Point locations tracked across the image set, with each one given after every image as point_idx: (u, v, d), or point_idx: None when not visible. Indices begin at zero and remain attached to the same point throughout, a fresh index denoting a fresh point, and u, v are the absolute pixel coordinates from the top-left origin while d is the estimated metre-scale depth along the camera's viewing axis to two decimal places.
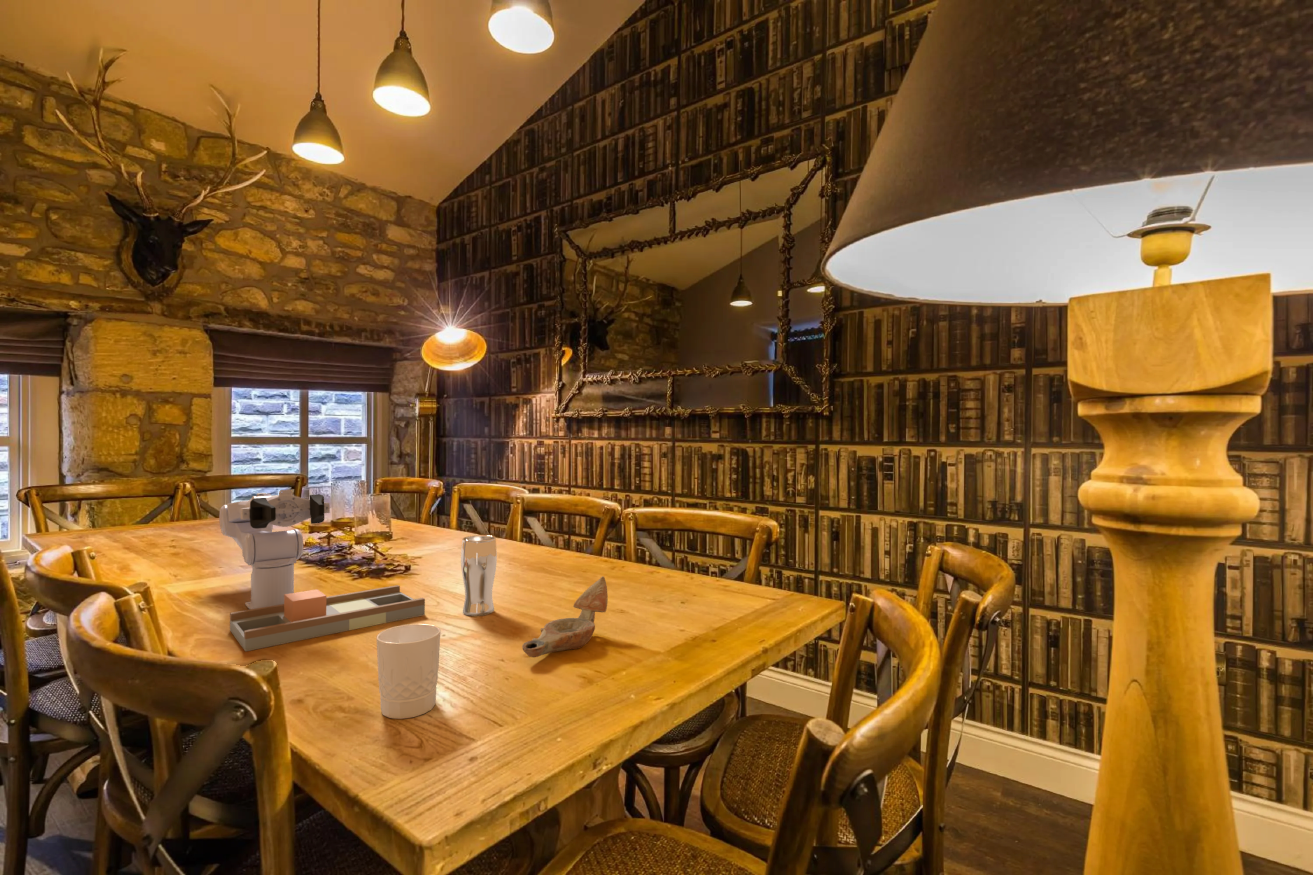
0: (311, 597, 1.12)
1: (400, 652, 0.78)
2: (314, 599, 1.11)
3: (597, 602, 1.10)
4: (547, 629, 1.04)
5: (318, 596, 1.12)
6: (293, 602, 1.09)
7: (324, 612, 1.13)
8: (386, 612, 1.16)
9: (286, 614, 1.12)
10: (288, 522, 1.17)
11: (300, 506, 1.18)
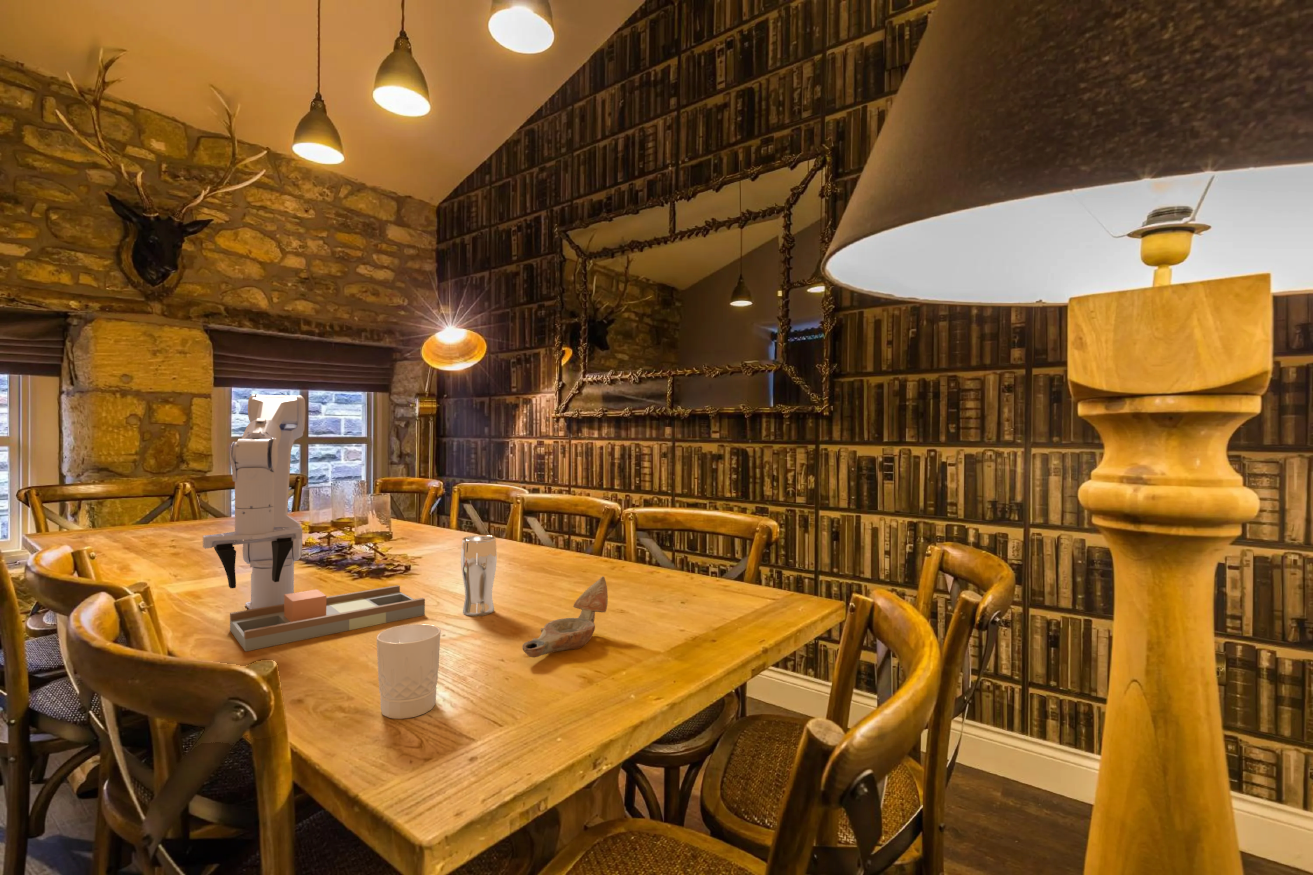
0: (311, 597, 1.12)
1: (400, 652, 0.78)
2: (314, 599, 1.11)
3: (597, 602, 1.10)
4: (547, 629, 1.04)
5: (318, 596, 1.12)
6: (293, 602, 1.09)
7: (324, 612, 1.13)
8: (386, 612, 1.16)
9: (286, 614, 1.12)
10: None
11: (270, 537, 1.09)
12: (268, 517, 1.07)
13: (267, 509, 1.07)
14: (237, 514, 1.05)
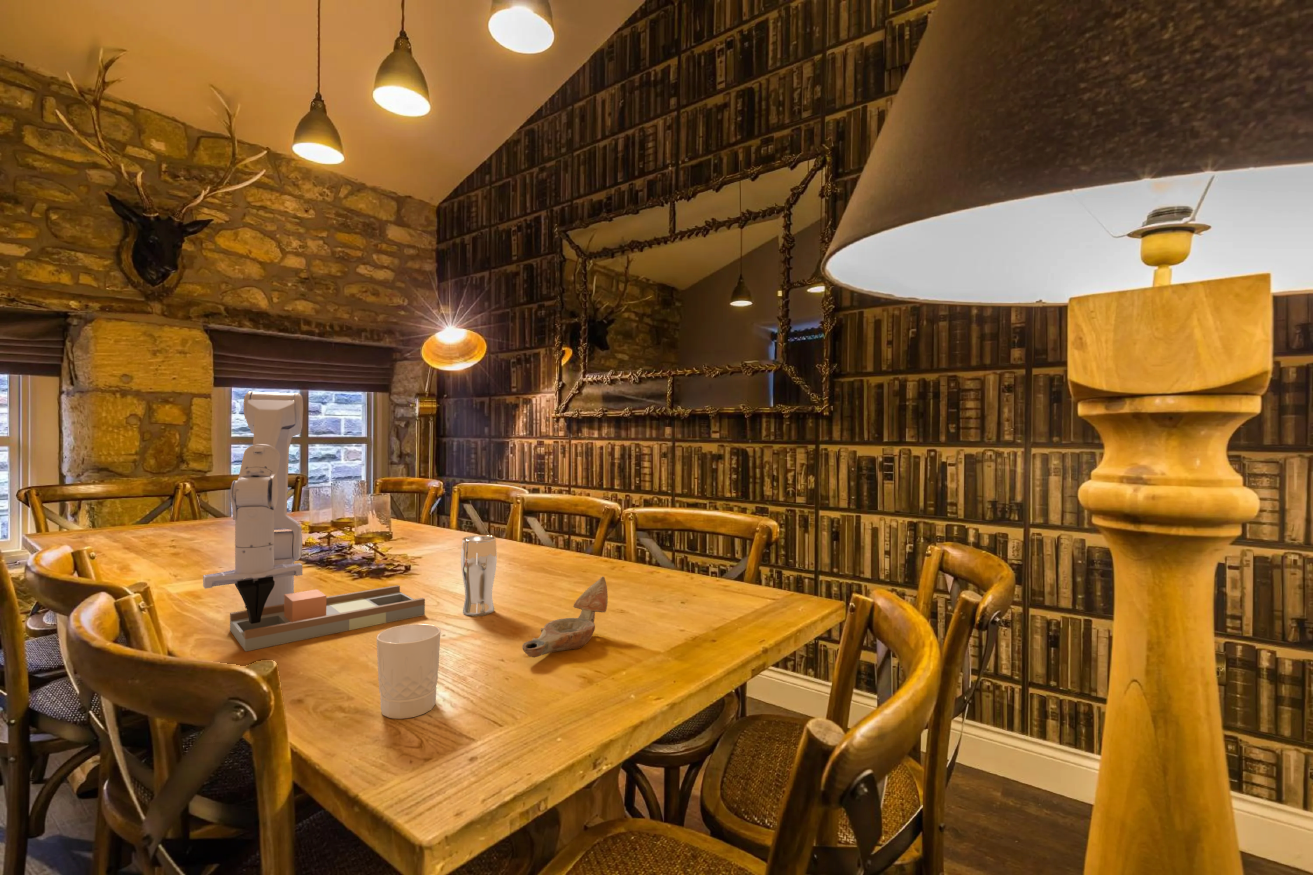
0: (311, 597, 1.12)
1: (400, 652, 0.78)
2: (314, 599, 1.11)
3: (597, 602, 1.10)
4: (547, 629, 1.04)
5: (318, 596, 1.12)
6: (293, 602, 1.09)
7: (324, 612, 1.13)
8: (386, 612, 1.16)
9: (286, 614, 1.12)
10: None
11: (270, 575, 1.09)
12: (268, 555, 1.07)
13: (267, 547, 1.07)
14: (237, 553, 1.05)
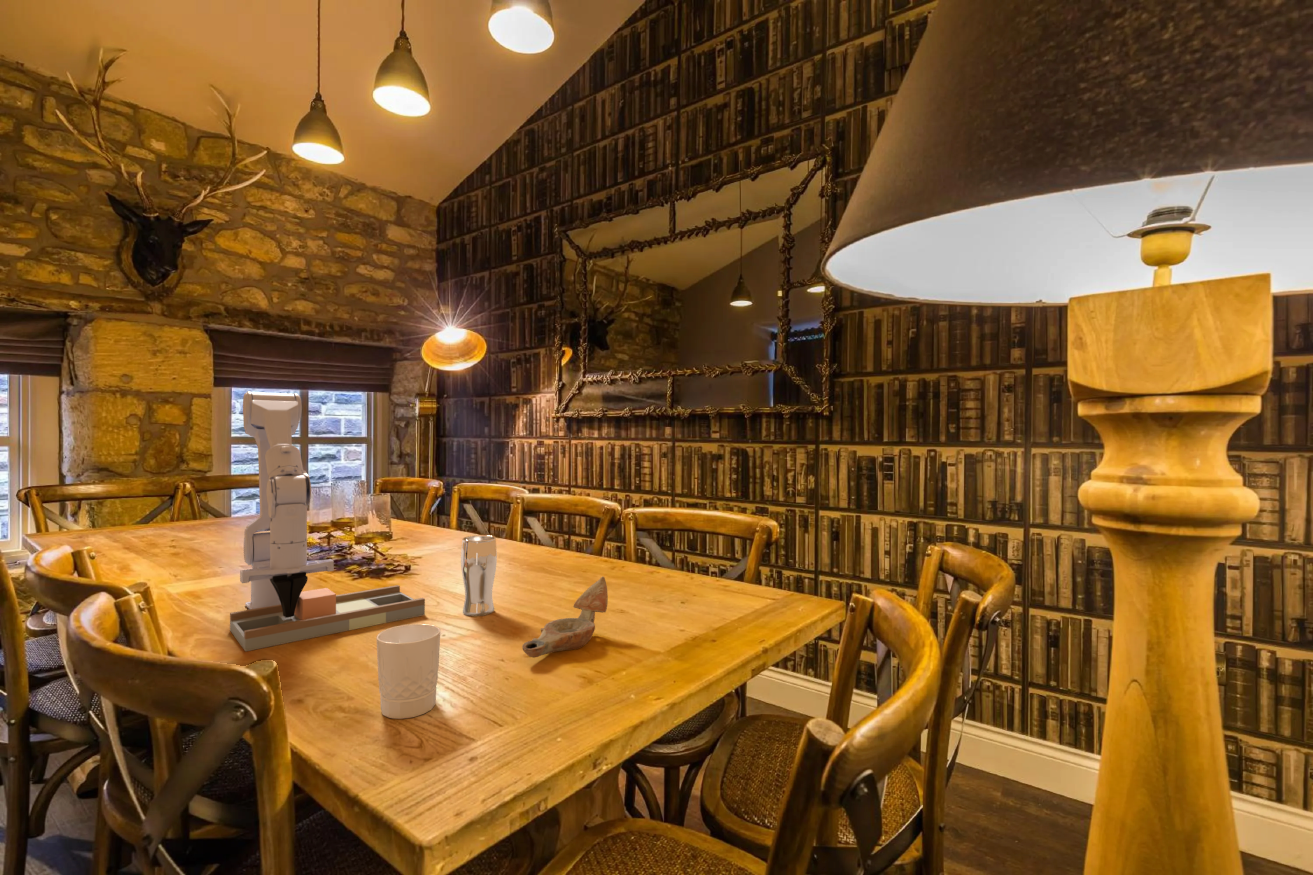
0: (321, 595, 1.13)
1: (400, 652, 0.78)
2: (324, 598, 1.12)
3: (597, 602, 1.10)
4: (547, 629, 1.04)
5: (328, 594, 1.13)
6: (303, 600, 1.10)
7: (334, 610, 1.14)
8: (386, 612, 1.16)
9: (296, 612, 1.13)
10: None
11: (303, 570, 1.12)
12: (302, 551, 1.11)
13: (301, 544, 1.10)
14: (273, 549, 1.09)
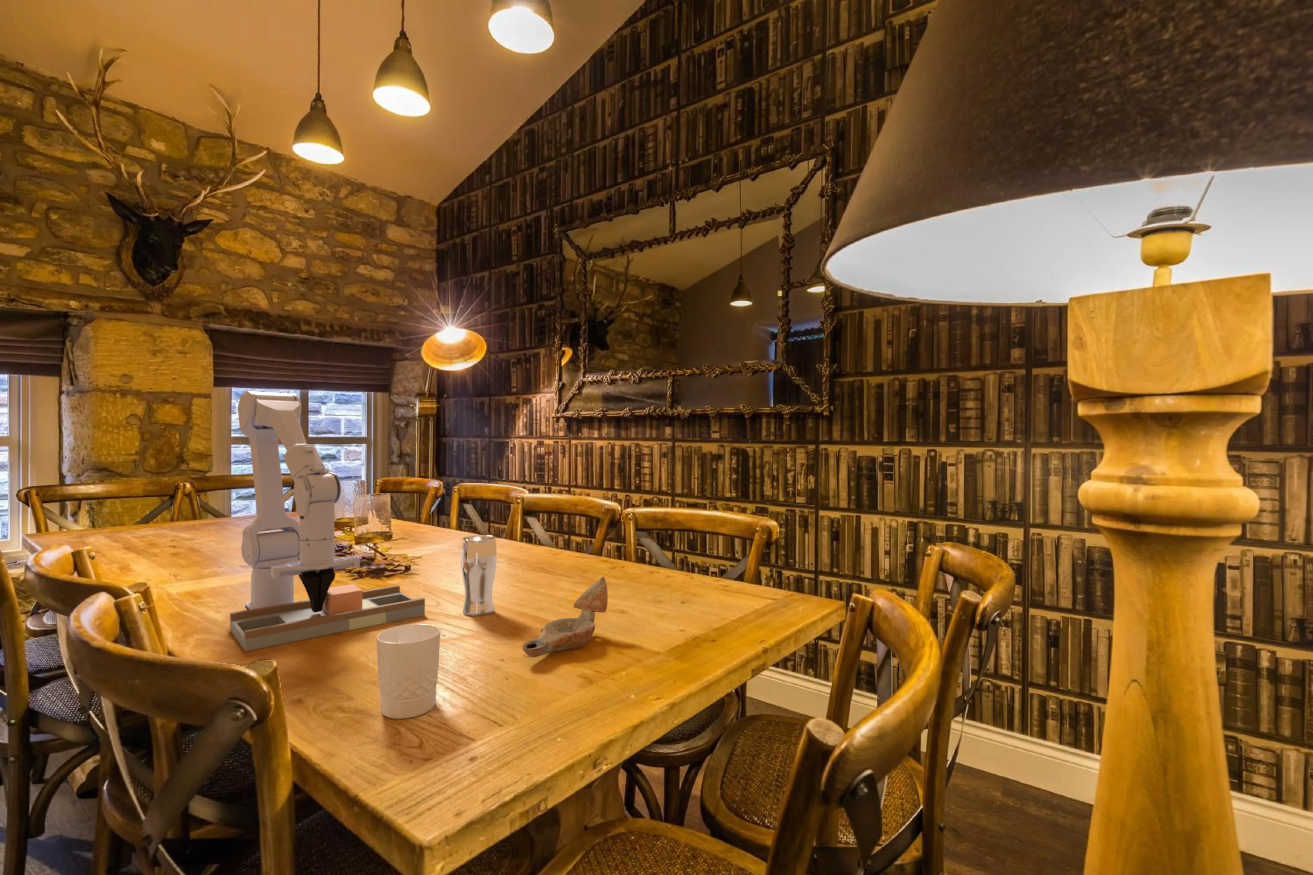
0: (348, 591, 1.16)
1: (400, 652, 0.78)
2: (351, 593, 1.15)
3: (597, 602, 1.10)
4: (547, 629, 1.04)
5: (354, 590, 1.16)
6: (331, 596, 1.13)
7: (360, 606, 1.17)
8: (386, 612, 1.16)
9: (324, 608, 1.16)
10: None
11: (331, 566, 1.15)
12: (330, 548, 1.14)
13: (329, 541, 1.14)
14: (302, 546, 1.12)
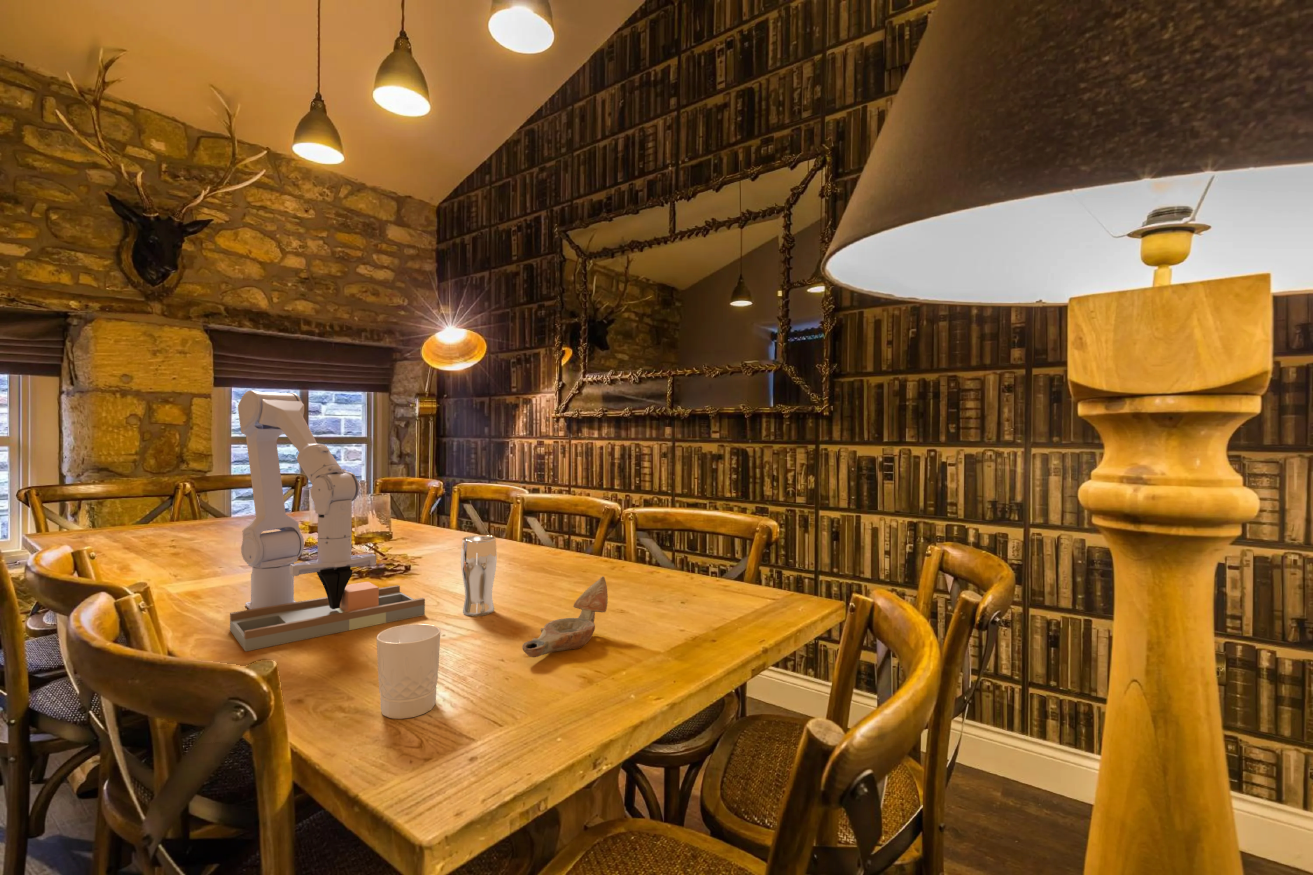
0: (365, 588, 1.18)
1: (400, 652, 0.78)
2: (367, 590, 1.18)
3: (597, 602, 1.10)
4: (547, 629, 1.04)
5: (371, 588, 1.19)
6: (349, 593, 1.15)
7: (376, 603, 1.19)
8: (386, 612, 1.16)
9: (341, 605, 1.18)
10: None
11: (348, 564, 1.18)
12: (348, 546, 1.16)
13: (347, 539, 1.16)
14: (320, 544, 1.14)
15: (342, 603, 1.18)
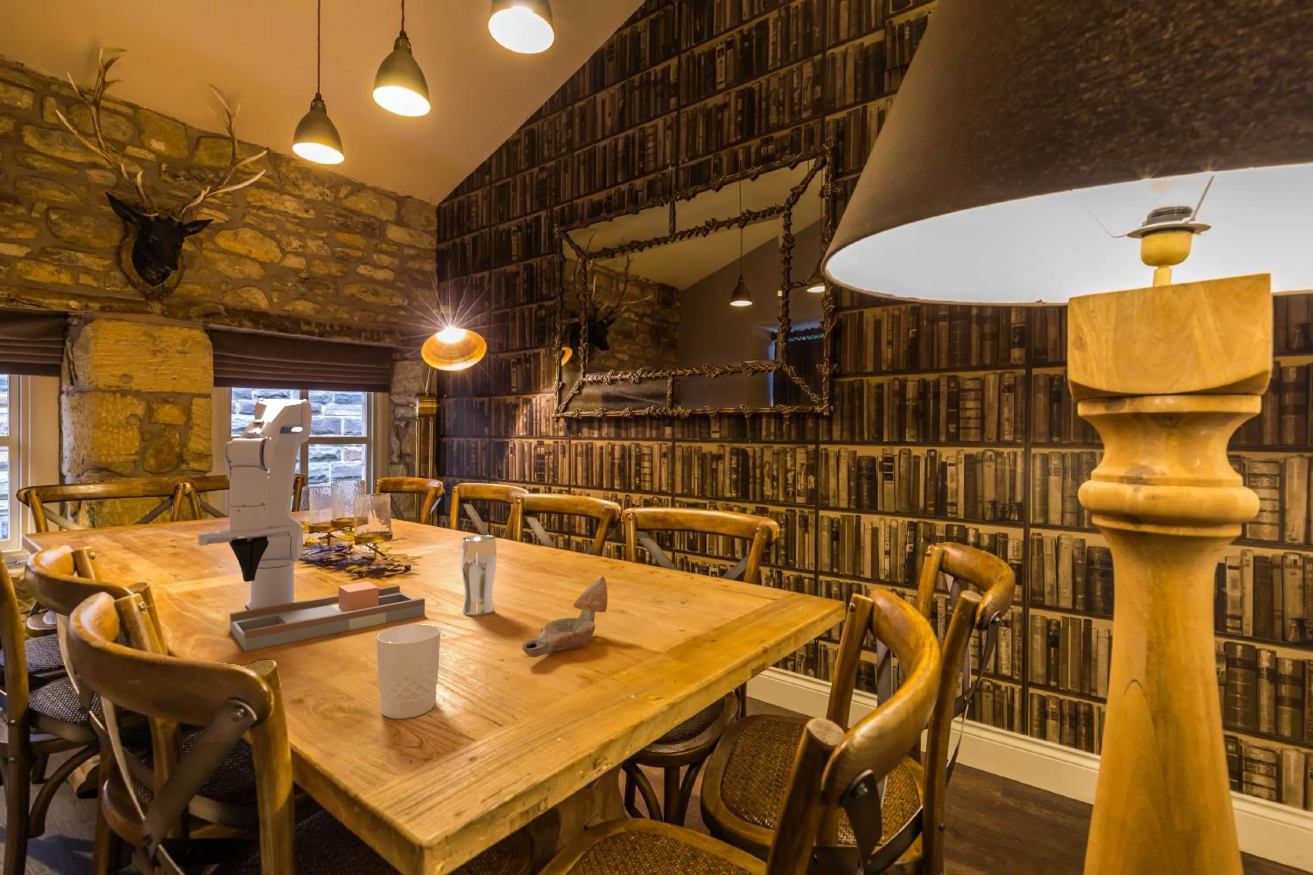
0: (365, 588, 1.18)
1: (400, 652, 0.78)
2: (367, 590, 1.18)
3: (597, 602, 1.10)
4: (547, 629, 1.04)
5: (371, 588, 1.19)
6: (349, 593, 1.15)
7: (376, 603, 1.19)
8: (386, 612, 1.16)
9: (341, 605, 1.18)
10: None
11: (264, 534, 1.11)
12: (262, 514, 1.09)
13: (261, 507, 1.09)
14: (232, 512, 1.07)
15: (342, 603, 1.18)
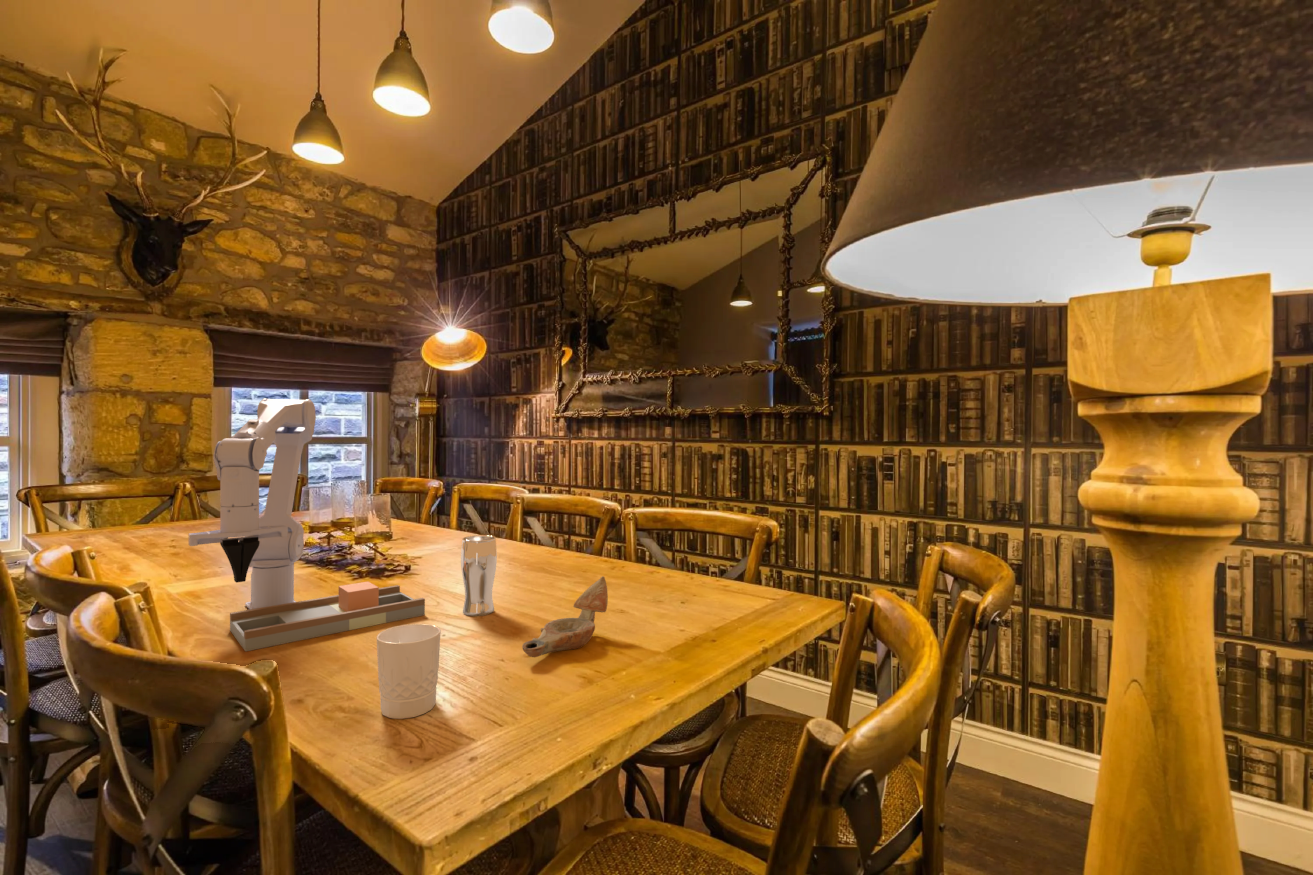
0: (365, 588, 1.18)
1: (400, 652, 0.78)
2: (367, 590, 1.18)
3: (597, 602, 1.10)
4: (547, 629, 1.04)
5: (371, 588, 1.19)
6: (349, 593, 1.15)
7: (376, 603, 1.19)
8: (386, 612, 1.16)
9: (341, 605, 1.18)
10: None
11: (255, 535, 1.10)
12: (253, 515, 1.09)
13: (252, 507, 1.08)
14: (222, 512, 1.07)
15: (342, 603, 1.18)
